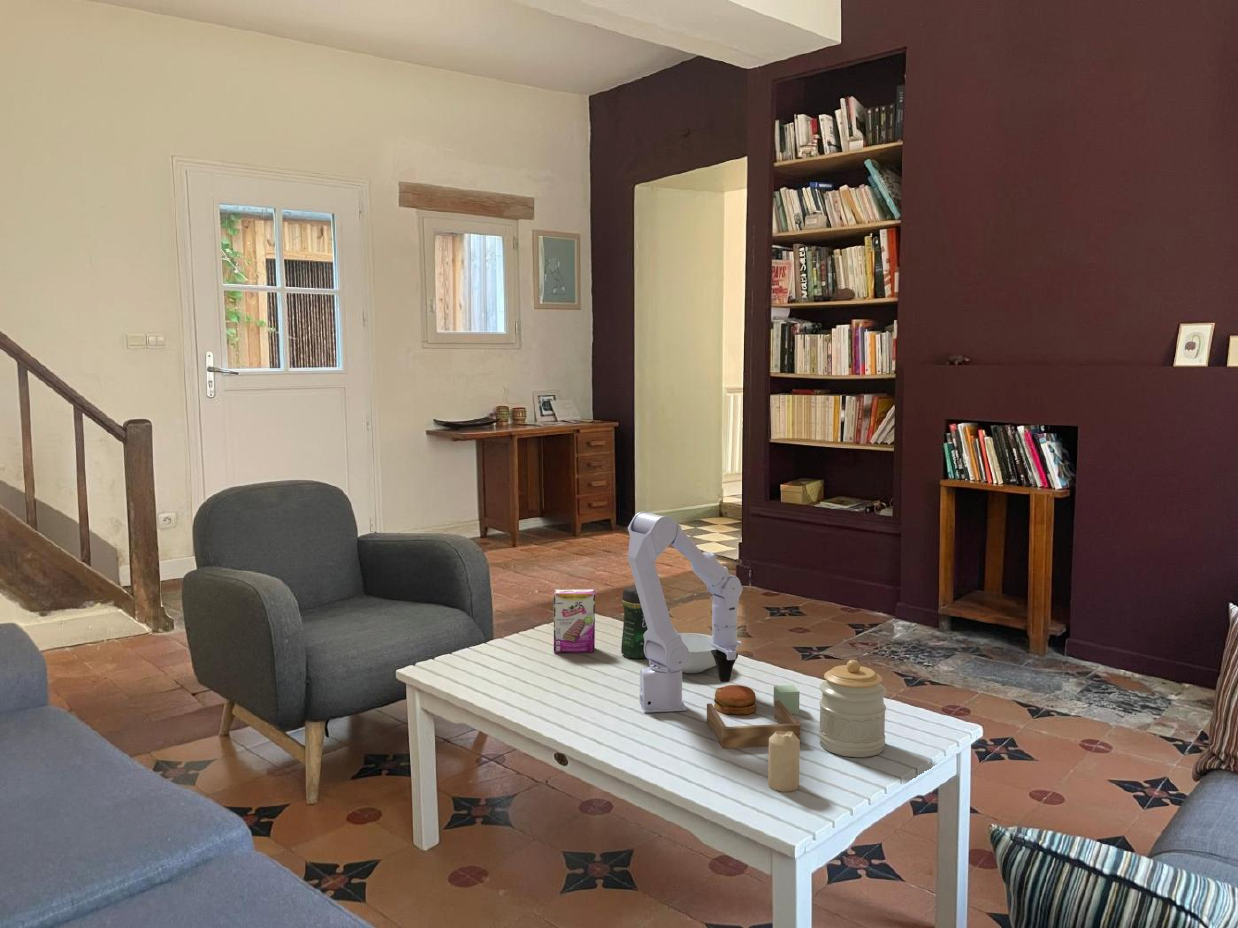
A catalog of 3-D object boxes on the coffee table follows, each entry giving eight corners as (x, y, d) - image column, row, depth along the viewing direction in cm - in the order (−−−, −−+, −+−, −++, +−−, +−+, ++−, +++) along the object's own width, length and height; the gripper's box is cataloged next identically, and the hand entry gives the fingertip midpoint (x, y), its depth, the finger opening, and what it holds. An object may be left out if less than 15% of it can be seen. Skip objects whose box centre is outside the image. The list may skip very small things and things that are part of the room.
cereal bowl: (710, 682, 228) (710, 654, 227) (647, 673, 235) (647, 645, 234) (732, 663, 243) (733, 636, 242) (673, 655, 250) (673, 629, 250)
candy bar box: (553, 653, 252) (553, 593, 250) (553, 648, 256) (553, 589, 255) (595, 652, 252) (595, 592, 251) (594, 647, 257) (594, 588, 256)
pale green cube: (779, 714, 207) (779, 692, 206) (773, 707, 211) (773, 685, 211) (799, 713, 207) (799, 691, 207) (792, 706, 212) (793, 684, 211)
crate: (722, 748, 188) (722, 728, 188) (706, 721, 203) (706, 703, 202) (800, 744, 190) (800, 724, 190) (779, 717, 205) (779, 700, 204)
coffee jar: (635, 661, 244) (635, 591, 243) (616, 654, 251) (616, 585, 249) (663, 654, 250) (663, 586, 249) (644, 647, 257) (644, 580, 255)
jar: (899, 750, 187) (901, 663, 185) (850, 763, 181) (852, 674, 179) (852, 728, 198) (854, 647, 197) (805, 740, 192) (806, 656, 190)
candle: (795, 778, 174) (796, 726, 173) (802, 791, 169) (803, 737, 168) (765, 779, 174) (766, 726, 173) (771, 792, 169) (772, 738, 168)
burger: (762, 714, 207) (762, 694, 207) (721, 718, 205) (721, 697, 205) (747, 699, 217) (747, 679, 216) (708, 702, 215) (708, 682, 214)
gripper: (749, 631, 213) (749, 690, 214) (733, 615, 227) (733, 670, 228) (718, 633, 212) (718, 691, 213) (704, 616, 226) (704, 671, 227)
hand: (724, 680), depth 221 cm, fingers closed
